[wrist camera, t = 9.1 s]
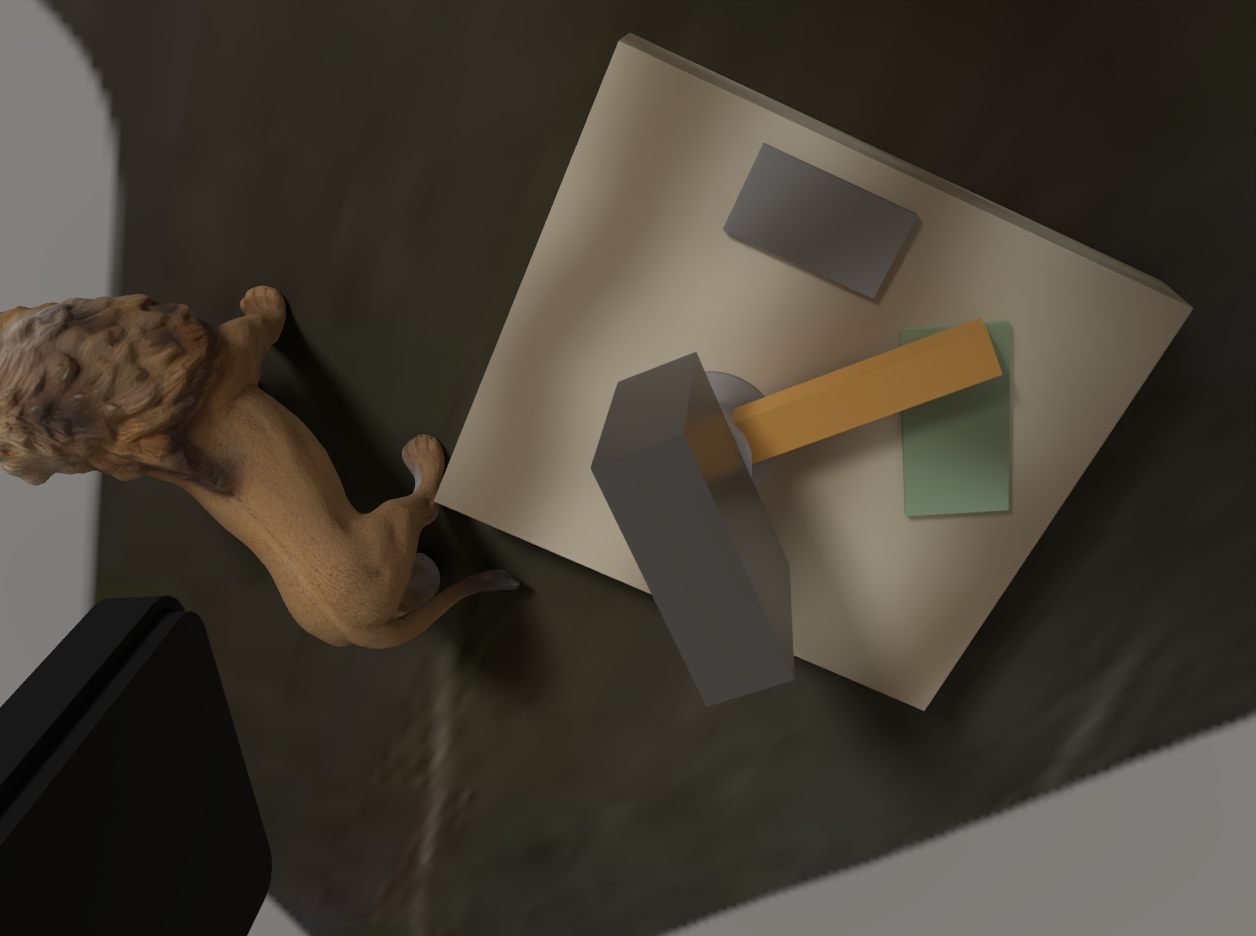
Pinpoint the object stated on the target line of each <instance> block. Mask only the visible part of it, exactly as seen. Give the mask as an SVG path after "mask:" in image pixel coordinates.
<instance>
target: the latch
mask: <svg viewBox="0 0 1256 936" xmlns="http://www.w3.org/2000/svg"><path fill="white" fill-rule="evenodd" d="M1000 375H1003V374H1002V371H1001V368H1000V365H999V362H998V360H997V357H996V354H995V351H994V348H993V345H992V342H991V339H990V336H989V333H988V330H987V328H986V326H985V325H984V323H983V321H982V319H981V318H980V317H979V318H976V319H974V320H971V321H968V322H966V323H963V324H960V325H958V326H955V327H952V328H949V329H947V330H944V331H941V332H939V333H936V334H933V335H931V336H928V337H925V338H923V339H920V340H917V341H914V342H912V343H909V344H906V345H904V346H901V347H898V348H896V349H893V350H890V351H888V352H885V353H882V354H879V355H877V356H874V357H871V358H869V359H866V360H863V361H861V362H858V363H855V364H853V365H850V366H847V367H844V368H842V369H839V370H836V371H834V372H831V373H828V374H826V375H823V376H820V377H818V378H815V379H812V380H809V381H807V382H804V383H801V384H799V385H796V386H793V387H791V388H788V389H785V390H783V391H780V392H777V393H775V394H772V395H769V396H766V397H764V398H761V399H758V400H756V401H753V402H750V403H748V404H745V405H742V406H740V407H737V408H732V407H730V406H728V405H726V404H723V403H720V402H718V400H717V398H716V396H715V393H714V391H713V389H712V387H711V384H710V382H709V380H708V377H707V375H706V373H705V370H704V368H703V366H702V364H701V361H700V359H699V357H698V354H697V352H694V353H691V354H689V355H686V356H684V357H681V358H678V359H676V360H673V361H671V362H668V363H665V364H663V365H660V366H658V367H655V368H653V369H650V370H647V371H645V372H642V373H640V374H637V375H635V376H632V377H629V378H627V379H624V380H622V381H619V382H618V383H617V386H616V389H615V392H614V395H613V398H612V402H611V405H610V408H609V411H608V414H607V417H606V420H605V424H604V427H603V430H602V433H601V436H600V439H599V443H598V446H597V449H596V452H595V455H594V458H593V461H592V465H591V468H590V469H591V471H592V473H593V475H594V477H595V479H596V481H597V483H598V485H599V487H600V489H601V491H602V493H603V495H604V497H605V499H606V501H607V504H608V506H609V508H610V510H611V512H612V514H613V516H614V518H615V520H616V522H617V524H618V526H619V528H620V530H621V532H622V534H623V536H624V538H625V540H626V543H627V545H628V547H629V549H630V551H631V553H632V555H633V557H634V559H635V561H636V563H637V565H638V567H639V569H640V571H641V573H642V575H643V577H644V579H645V582H646V584H647V586H648V588H649V590H650V592H651V594H652V596H653V598H654V600H655V602H656V604H657V606H658V608H659V610H660V612H661V614H662V616H663V618H664V620H665V623H666V625H667V627H668V629H669V631H670V633H671V635H672V637H673V639H674V641H675V643H676V645H677V647H678V649H679V651H680V653H681V655H682V657H683V659H684V662H685V664H686V666H687V668H688V670H689V672H690V674H691V676H692V678H693V680H694V682H695V684H696V686H697V688H698V690H699V692H700V694H701V696H702V698H703V701H704V703H705V705H706V707H708V706H711V705H714V704H718V703H721V702H724V701H727V700H731V699H734V698H737V697H740V696H744V695H747V694H750V693H753V692H757V691H760V690H763V689H766V688H770V687H773V686H776V685H779V684H783V683H786V682H789V681H793V680H795V673H794V652H793V630H792V608H791V586H790V565H789V563H788V561H787V559H786V556H785V554H784V552H783V549H782V547H781V545H780V543H779V540H778V538H777V536H776V533H775V531H774V529H773V526H772V524H771V522H770V520H769V517H768V515H767V513H766V510H765V508H764V506H763V504H762V501H761V499H760V497H759V494H758V492H757V490H756V487H755V485H754V483H753V481H752V464H754V463H757V462H760V461H762V460H765V459H768V458H771V457H774V456H776V455H779V454H782V453H785V452H788V451H790V450H793V449H796V448H799V447H802V446H804V445H807V444H810V443H813V442H816V441H818V440H821V439H824V438H827V437H830V436H832V435H835V434H838V433H841V432H844V431H846V430H849V429H852V428H855V427H858V426H860V425H863V424H866V423H869V422H872V421H874V420H877V419H880V418H883V417H886V416H888V415H891V414H894V413H897V412H899V411H902V410H905V409H908V408H911V407H913V406H916V405H919V404H922V403H925V402H927V401H930V400H933V399H936V398H939V397H941V396H944V395H947V394H950V393H953V392H955V391H958V390H961V389H964V388H967V387H969V386H972V385H975V384H978V383H981V382H983V381H986V380H989V379H992V378H995V377H997V376H1000Z"/></svg>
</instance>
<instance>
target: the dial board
mask: <svg viewBox="0 0 1256 936" xmlns="http://www.w3.org/2000/svg"><path fill="white" fill-rule="evenodd" d="M1192 310H1193V307H1192V306H1190V305H1189V304H1188V303H1187V302H1186V301H1185V300H1183V299H1182V298H1181V297H1180V296H1179V295H1178V294H1177V293H1175V292H1174V291H1173V290H1172V289H1171V288H1170V287H1168V286H1167V285H1166V284H1165V283H1164V282H1163V281H1161V280H1159V279H1157V278H1155V277H1153V276H1151V275H1148V274H1146V273H1144V272H1142V271H1140V270H1138V269H1136V268H1133V267H1131V266H1129V265H1127V264H1125V263H1123V262H1121V261H1118V260H1116V259H1114V258H1112V257H1110V256H1108V255H1106V254H1103V253H1101V252H1099V251H1097V250H1095V249H1093V248H1091V247H1088V246H1086V245H1084V244H1082V243H1080V242H1078V241H1076V240H1073V239H1071V238H1069V237H1067V236H1065V235H1063V234H1061V233H1058V232H1056V231H1054V230H1052V229H1050V228H1048V227H1046V226H1043V225H1041V224H1039V223H1037V222H1035V221H1033V220H1031V219H1028V218H1026V217H1024V216H1022V215H1020V214H1018V213H1016V212H1013V211H1011V210H1009V209H1007V208H1005V207H1003V206H1000V205H998V204H996V203H994V202H992V201H990V200H988V199H985V198H983V197H981V196H979V195H977V194H975V193H973V192H970V191H968V190H966V189H964V188H962V187H960V186H958V185H955V184H953V183H951V182H949V181H947V180H945V179H943V178H940V177H938V176H936V175H934V174H932V173H930V172H928V171H925V170H923V169H921V168H919V167H917V166H915V165H913V164H910V163H908V162H906V161H904V160H902V159H900V158H898V157H895V156H893V155H891V154H889V153H887V152H885V151H883V150H880V149H878V148H876V147H874V146H872V145H870V144H868V143H865V142H863V141H861V140H859V139H857V138H855V137H853V136H850V135H848V134H846V133H844V132H842V131H840V130H838V129H835V128H833V127H831V126H829V125H827V124H825V123H823V122H820V121H818V120H816V119H814V118H812V117H810V116H807V115H805V114H803V113H801V112H799V111H797V110H795V109H792V108H790V107H788V106H786V105H784V104H782V103H780V102H777V101H775V100H773V99H771V98H769V97H767V96H765V95H762V94H760V93H758V92H756V91H754V90H752V89H750V88H747V87H745V86H743V85H741V84H739V83H737V82H735V81H732V80H730V79H728V78H726V77H724V76H722V75H720V74H717V73H715V72H713V71H711V70H709V69H707V68H705V67H702V66H700V65H698V64H696V63H694V62H692V61H690V60H687V59H685V58H683V57H681V56H679V55H677V54H675V53H672V52H670V51H668V50H666V49H664V48H662V47H660V46H657V45H655V44H653V43H651V42H649V41H647V40H645V39H642V38H640V37H638V36H636V35H634V34H632V33H628V34H627V35H626V36H625V37H623V38H622V39H621V40H619V42H618V44H617V47H616V49H615V52H614V54H613V57H612V59H611V62H610V64H609V67H608V69H607V72H606V74H605V77H604V79H603V82H602V84H601V86H600V89H599V91H598V94H597V96H596V99H595V101H594V104H593V106H592V109H591V111H590V114H589V116H588V119H587V121H586V124H585V126H584V129H583V131H582V134H581V136H580V139H579V141H578V144H577V146H576V149H575V151H574V154H573V156H572V159H571V161H570V164H569V166H568V168H567V171H566V173H565V176H564V178H563V181H562V183H561V186H560V188H559V191H558V193H557V196H556V198H555V201H554V203H553V206H552V208H551V211H550V213H549V216H548V218H547V221H546V223H545V226H544V228H543V231H542V233H541V236H540V238H539V241H538V243H537V246H536V248H535V251H534V253H533V255H532V258H531V260H530V263H529V265H528V268H527V270H526V273H525V275H524V278H523V280H522V283H521V285H520V288H519V290H518V293H517V295H516V298H515V300H514V303H513V305H512V308H511V310H510V313H509V315H508V318H507V320H506V323H505V325H504V328H503V330H502V333H501V335H500V337H499V340H498V342H497V345H496V347H495V350H494V352H493V355H492V357H491V360H490V362H489V365H488V367H487V370H486V372H485V375H484V377H483V380H482V382H481V385H480V387H479V390H478V392H477V395H476V397H475V400H474V402H473V405H472V407H471V410H470V412H469V415H468V417H467V420H466V422H465V424H464V427H463V429H462V432H461V434H460V437H459V439H458V442H457V444H456V447H455V449H454V452H453V454H452V457H451V459H450V462H449V464H448V467H447V469H446V472H445V474H444V477H443V479H442V482H441V484H440V487H439V489H438V492H437V494H436V497H435V499H434V502H437V503H439V504H441V505H444V506H446V507H448V508H451V509H453V510H455V511H458V512H460V513H462V514H465V515H467V516H469V517H472V518H474V519H476V520H479V521H481V522H483V523H486V524H488V525H490V526H493V527H495V528H497V529H500V530H502V531H505V532H507V533H509V534H512V535H514V536H516V537H519V538H521V539H523V540H526V541H528V542H530V543H533V544H535V545H537V546H540V547H542V548H544V549H547V550H549V551H551V552H554V553H556V554H558V555H561V556H563V557H565V558H568V559H570V560H572V561H575V562H577V563H579V564H582V565H584V566H586V567H589V568H591V569H593V570H596V571H598V572H600V573H603V574H605V575H607V576H610V577H612V578H614V579H617V580H619V581H621V582H624V583H626V584H628V585H631V586H633V587H635V588H638V589H640V590H642V591H645V592H647V593H650V594H651V592H650V590H649V588H648V586H647V584H646V582H645V579H644V577H643V575H642V573H641V571H640V569H639V567H638V565H637V563H636V561H635V559H634V557H633V555H632V553H631V551H630V549H629V547H628V545H627V543H626V540H625V538H624V536H623V534H622V532H621V530H620V528H619V526H618V524H617V522H616V520H615V518H614V516H613V514H612V512H611V510H610V508H609V506H608V504H607V501H606V499H605V497H604V495H603V493H602V491H601V489H600V487H599V485H598V483H597V481H596V479H595V477H594V475H593V473H592V471H591V469H590V468H591V465H592V461H593V458H594V455H595V452H596V449H597V446H598V443H599V439H600V436H601V433H602V430H603V427H604V424H605V420H606V417H607V414H608V411H609V408H610V405H611V402H612V398H613V395H614V392H615V389H616V386H617V383H618V382H619V381H622V380H624V379H627V378H629V377H632V376H635V375H637V374H640V373H642V372H645V371H647V370H650V369H653V368H655V367H658V366H660V365H663V364H665V363H668V362H671V361H673V360H676V359H678V358H681V357H684V356H686V355H689V354H691V353H694V352H697V354H698V357H699V359H700V361H701V364H702V366H703V368H704V370H705V373H706V375H707V377H708V380H709V382H710V384H711V387H712V389H713V391H714V393H715V396H716V398H717V400H718V402H720V403H723V404H726V405H728V406H730V407H732V408H737V407H740V406H742V405H745V404H748V403H750V402H753V401H756V400H758V399H761V398H764V397H766V396H769V395H772V394H775V393H777V392H780V391H783V390H785V389H788V388H791V387H793V386H796V385H799V384H801V383H804V382H807V381H809V380H812V379H815V378H818V377H820V376H823V375H826V374H828V373H831V372H834V371H836V370H839V369H842V368H844V367H847V366H850V365H853V364H855V363H858V362H861V361H863V360H866V359H869V358H871V357H874V356H877V355H879V354H882V353H885V352H888V351H890V350H893V349H896V348H898V347H901V346H904V345H906V344H909V343H912V342H914V341H917V340H920V339H923V338H925V337H928V336H931V335H933V334H936V333H939V332H941V331H944V330H947V329H949V328H952V327H955V326H958V325H960V324H963V323H966V322H968V321H971V320H974V319H976V318H979V317H980V318H981V319H982V321H983V323H984V325H985V326H986V328H987V330H988V333H989V336H990V339H991V342H992V345H993V348H994V351H995V354H996V357H997V360H998V362H999V365H1000V368H1001V371H1002V374H1003V375H1000V376H997V377H995V378H992V379H989V380H986V381H983V382H981V383H978V384H975V385H972V386H969V387H967V388H964V389H961V390H958V391H955V392H953V393H950V394H947V395H944V396H941V397H939V398H936V399H933V400H930V401H927V402H925V403H922V404H919V405H916V406H913V407H911V408H908V409H905V410H902V411H899V412H897V413H894V414H891V415H888V416H886V417H883V418H880V419H877V420H874V421H872V422H869V423H866V424H863V425H860V426H858V427H855V428H852V429H849V430H846V431H844V432H841V433H838V434H835V435H832V436H830V437H827V438H824V439H821V440H818V441H816V442H813V443H810V444H807V445H804V446H802V447H799V448H796V449H793V450H790V451H788V452H785V453H782V454H779V455H776V456H774V457H771V458H768V459H765V460H762V461H760V462H757V463H754V464H752V481H753V483H754V485H755V487H756V490H757V492H758V494H759V497H760V499H761V501H762V504H763V506H764V508H765V510H766V513H767V515H768V517H769V520H770V522H771V524H772V526H773V529H774V531H775V533H776V536H777V538H778V540H779V543H780V545H781V547H782V549H783V552H784V554H785V556H786V559H787V561H788V563H789V565H790V586H791V608H792V630H793V652H794V656H797V657H799V658H802V659H804V660H806V661H809V662H811V663H813V664H816V665H818V666H820V667H823V668H825V669H827V670H830V671H832V672H834V673H837V674H839V675H841V676H844V677H846V678H848V679H851V680H853V681H855V682H858V683H860V684H862V685H865V686H867V687H869V688H872V689H874V690H876V691H879V692H881V693H883V694H886V695H888V696H890V697H893V698H895V699H897V700H900V701H902V702H904V703H907V704H909V705H911V706H914V707H916V708H918V709H921V710H923V711H925V709H926V708H927V706H928V705H929V703H930V702H931V700H932V699H933V697H934V696H935V694H936V693H937V691H938V690H939V688H940V687H941V685H942V684H943V682H944V681H945V679H946V678H947V676H948V675H949V673H950V672H951V670H952V669H953V667H954V666H955V664H956V663H957V661H958V660H959V658H960V657H961V655H962V654H963V652H964V651H965V649H966V648H967V646H968V645H969V643H970V642H971V640H972V639H973V637H974V636H975V634H976V633H977V631H978V630H979V628H980V627H981V625H982V624H983V622H984V621H985V619H986V618H987V616H988V615H989V613H990V612H991V610H992V609H993V607H994V606H995V604H996V603H997V601H998V600H999V598H1000V597H1001V595H1002V594H1003V593H1004V591H1005V590H1006V588H1007V587H1008V585H1009V584H1010V582H1011V581H1012V579H1013V578H1014V576H1015V575H1016V573H1017V572H1018V570H1019V569H1020V567H1021V566H1022V564H1023V563H1024V561H1025V560H1026V558H1027V557H1028V555H1029V554H1030V552H1031V551H1032V549H1033V548H1034V546H1035V545H1036V543H1037V542H1038V540H1039V539H1040V537H1041V536H1042V534H1043V533H1044V531H1045V530H1046V528H1047V527H1048V525H1049V524H1050V522H1051V521H1052V519H1053V518H1054V516H1055V515H1056V513H1057V512H1058V510H1059V509H1060V507H1061V506H1062V504H1063V503H1064V501H1065V500H1066V498H1067V497H1068V495H1069V494H1070V492H1071V491H1072V489H1073V488H1074V486H1075V485H1076V483H1077V482H1078V480H1079V479H1080V477H1081V476H1082V474H1083V473H1084V471H1085V470H1086V468H1087V467H1088V465H1089V464H1090V462H1091V461H1092V459H1093V458H1094V456H1095V455H1096V453H1097V452H1098V450H1099V449H1100V447H1101V446H1102V444H1103V443H1104V441H1105V440H1106V438H1107V437H1108V435H1109V434H1110V432H1111V431H1112V429H1113V428H1114V426H1115V425H1116V423H1117V422H1118V420H1119V419H1120V417H1121V416H1122V415H1123V413H1124V412H1125V410H1126V409H1127V407H1128V406H1129V404H1130V403H1131V401H1132V400H1133V398H1134V397H1135V395H1136V394H1137V392H1138V391H1139V389H1140V388H1141V386H1142V385H1143V383H1144V382H1145V380H1146V379H1147V377H1148V376H1149V374H1150V373H1151V371H1152V370H1153V368H1154V367H1155V365H1156V364H1157V362H1158V361H1159V359H1160V358H1161V356H1162V355H1163V353H1164V352H1165V350H1166V349H1167V347H1168V346H1169V344H1170V343H1171V341H1172V340H1173V338H1174V337H1175V335H1176V334H1177V332H1178V331H1179V329H1180V328H1181V326H1182V325H1183V323H1184V322H1185V320H1186V319H1187V317H1188V316H1189V314H1190V313H1191V311H1192Z"/></svg>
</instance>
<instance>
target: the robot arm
mask: <svg viewBox="0 0 1256 936" xmlns="http://www.w3.org/2000/svg"><path fill="white" fill-rule="evenodd" d="M271 872H272V858H271V852H270V847H269V844H268V840H267V837H266V834H265V830H264V827H263V823H262V820H261V817H260V813H259V810H258V806H257V803H256V799H255V796H254V793H253V789H252V786H251V782H250V779H249V776H248V772H247V769H246V765H245V762H244V758H243V755H242V752H241V748H240V745H239V741H238V738H237V735H236V731H235V728H234V724H233V721H232V717H231V714H230V711H229V707H228V704H227V700H226V697H225V694H224V690H223V687H222V683H221V680H220V677H219V673H218V670H217V666H216V663H215V659H214V656H213V653H212V649H211V646H210V642H209V639H208V636H207V632H206V629H205V626H204V624H203V621H202V619H201V618H200V617H199V616H198V614H196V613H194V612H192V611H188V612H185V610H184V608H183V606H182V605H181V604H180V602H179V601H178V600H177V599H175V598H173V597H171V596H147V597H122V598H108V599H102V600H101V601H100V602H98V603H97V604H96V605H94V606H93V608H92V609H91V610H90V611H89V612H88V613H87V614H86V615H85V616H84V617H83V618H82V619H81V621H80V622H79V623H78V624H77V625H76V626H75V627H74V629H72V630H71V631H70V632H69V634H68V635H67V636H66V637H65V638H64V639H63V640H62V641H61V642H60V643H59V644H58V645H57V647H56V648H55V649H54V650H53V651H52V652H51V653H50V654H49V655H48V656H47V658H46V659H45V660H44V661H43V662H42V663H41V664H40V665H39V666H38V667H37V668H36V669H35V671H34V672H33V673H32V674H31V675H30V676H29V677H28V678H27V679H26V680H25V681H24V682H23V683H22V685H21V686H20V687H19V688H18V689H17V690H16V691H15V692H14V694H12V695H11V697H10V698H9V699H8V700H7V701H6V702H5V703H4V704H3V705H2V706H1V707H0V936H247V935H248V933H249V931H250V929H251V927H252V924H253V922H254V920H255V918H256V916H257V914H258V912H259V910H260V908H261V906H262V904H263V902H264V900H265V897H266V895H267V892H268V889H269V885H270V880H271Z"/></svg>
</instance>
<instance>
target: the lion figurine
mask: <svg viewBox="0 0 1256 936" xmlns="http://www.w3.org/2000/svg"><path fill="white" fill-rule="evenodd" d="M240 307H241V309H242V311H243V312H244V314H245V315H246V316H243V317H240V318H236V319H233V320H231V321H229V322H226V323H224V324H223V325H221V326H219V327H218V328H216V329H215V330H213V328H212V327H211V326H210V325H209V324H208V323H207V322H205V321H203V320H201V319H199V318H197V316H196V314H195V312H193V311H191V310H190V309H189V307H188V306H187V305H183V304H175V303H169V304H163V305H160V304H158V303H157V302H156V301H154V300H153V299H152V298H151V297H149V296H147V295H142V294H135V295H129V296H121V297H100V298H96V299H83V298H70V299H67V300H64V301H62V302H60V303H46V304H43V305H40V306H38V307H35V308H26V307H22V306H19V307H16V308H15V309H11V310H8V311H5V312H0V463H1V466H2V468H3V470H4V471H6V472H7V473H8V474H10V475H13V476H16V477H20V478H21V479H22V480H24V481H25V482H27V483H29V484H32V485H40V484H43V483H45V482H46V481H47V480H48V479H49V477H51V476H52V475H53V474H54V473H64V474H76V473H87V472H90V471H95V470H97V471H100V472H103V473H106V474H111V475H112V476H113V477H115V478H117V479H119V480H122V481H130V480H133V479H137V478H140V477H142V476H143V475H145V474H146V475H149V476H152V477H154V478H157V479H160V480H164V481H168V482H171V483H174V484H176V485H179V486H180V487H182V488H183V489H184V490H186V491H187V492H188V493H189V494H191V495H192V496H193V497H194V498H195V499H196V500H197V501H198V502H199V503H200V504H201V505H202V506H203V507H204V508H205V509H206V510H207V511H208V512H209V513H210V514H211V515H212V516H213V517H214V518H215V519H216V520H217V521H218V522H219V523H220V524H221V525H222V526H223V527H224V528H225V529H226V530H227V531H229V532H230V533H231V534H233V535H234V536H235V537H237V538H238V539H239V540H241V541H242V542H243V543H244V544H245V545H246V546H248V547H249V548H250V549H251V550H252V551H253V552H254V553H255V555H256V556H257V557H258V558H259V559H260V560H261V562H262V563H263V564H264V565H265V566H266V568H267V569H268V571H269V572H270V574H271V576H272V578H273V580H274V582H275V584H276V586H277V588H278V590H279V592H280V594H281V596H282V598H283V600H284V602H285V604H286V606H287V608H288V610H289V612H290V613H291V615H292V616H293V617H294V619H295V620H296V621H297V623H298V624H299V625H300V626H301V627H302V628H303V629H305V630H306V631H307V632H309V633H310V634H312V635H314V636H316V637H317V638H319V639H321V640H323V641H325V642H327V643H329V644H332V645H334V646H340V647H343V646H347V645H350V644H352V643H354V644H356V645H359V646H363V647H368V648H378V649H381V648H388V647H393V646H396V645H400V644H403V643H405V642H407V641H410V640H411V639H413V638H414V637H416V636H417V635H418V634H420V633H421V632H423V631H424V630H426V629H427V628H428V627H429V626H430V625H431V624H432V623H433V622H435V621H436V620H437V619H438V618H439V617H441V616H442V615H443V614H444V613H445V612H446V611H447V610H448V609H450V608H451V607H452V606H453V605H454V604H455V603H457V602H458V601H459V600H461V599H463V598H465V597H467V596H469V595H472V594H475V593H477V592H481V591H498V590H502V589H503V590H514V589H517V588H518V586H519V585H520V582H519V581H517V580H516V579H514V578H513V577H512V576H510V575H509V574H508V573H507V572H505V571H502V570H487V571H485V572H480V573H476V574H471V575H470V576H468V577H466V578H464V579H462V580H461V581H459V582H457V583H455V584H453V585H451V586H450V587H448V588H447V589H445V590H444V591H442V592H441V593H439V594H438V595H436V596H434V595H435V594H436V592H437V591H438V589H439V586H440V573H439V570H438V568H437V566H436V564H435V563H434V561H433V560H431V559H430V558H429V557H428V556H427V555H425V554H423V553H416V551H417V545H418V540H419V536H420V533H421V530H422V529H423V527H425V526H426V525H428V524H429V523H431V522H433V521H434V520H435V519H436V517H437V516H438V511H439V503H437V502H434V499H435V497H436V494H437V492H438V489H439V487H440V483H441V479H442V476H443V471H444V454H443V449H442V447H441V445H440V443H439V442H438V441H437V439H436V438H434V437H432V436H429V435H424V434H421V435H418V436H416V437H414V438H413V439H411V440H410V441H409V442H408V443H407V444H406V445H405V447H404V448H403V450H402V458H403V460H404V463H405V464H406V466H407V467H408V469H409V470H410V471H411V473H412V474H413V475H414V478H415V489H414V492H413V493H412V494H411V495H409V496H405V497H402V498H397V499H392V500H389V501H386V502H384V503H383V504H381V505H380V506H379V507H378V508H376V509H375V510H374V511H372V512H370V513H367V514H361V513H358V512H357V511H356V510H355V509H354V507H353V506H352V505H351V504H350V502H349V501H348V499H347V497H346V495H345V492H344V488H343V486H342V484H341V481H340V479H339V476H338V474H337V472H336V470H335V468H334V466H333V464H332V462H331V460H330V458H329V456H328V454H327V452H326V450H325V449H324V448H323V446H322V445H321V444H320V442H319V441H318V440H317V439H316V437H315V436H314V435H313V433H312V432H311V431H310V430H309V429H308V428H307V427H306V426H305V424H304V423H303V422H302V421H301V420H300V419H299V418H298V417H296V416H295V415H294V414H293V413H292V412H290V411H289V410H288V409H287V408H285V407H284V406H283V405H281V404H280V403H279V402H278V401H276V400H275V399H274V398H272V397H271V396H270V395H268V394H267V393H265V392H264V391H262V390H261V389H260V388H259V387H258V382H259V380H260V368H261V361H262V358H263V356H264V355H265V353H266V352H267V350H268V349H269V348H270V347H271V345H272V344H273V343H275V342H277V340H278V338H279V336H280V334H281V331H282V329H283V326H284V322H285V319H286V305H285V301H284V298H283V296H282V295H281V294H280V292H279V291H278V290H277V289H275V288H272V287H268V286H258V287H254V288H252V289H250V290H248V291H247V293H246V295H245V297H244V298H243V299H242V300H241V302H240ZM433 596H434V597H433ZM397 616H400V618H398V619H397Z"/></svg>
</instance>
